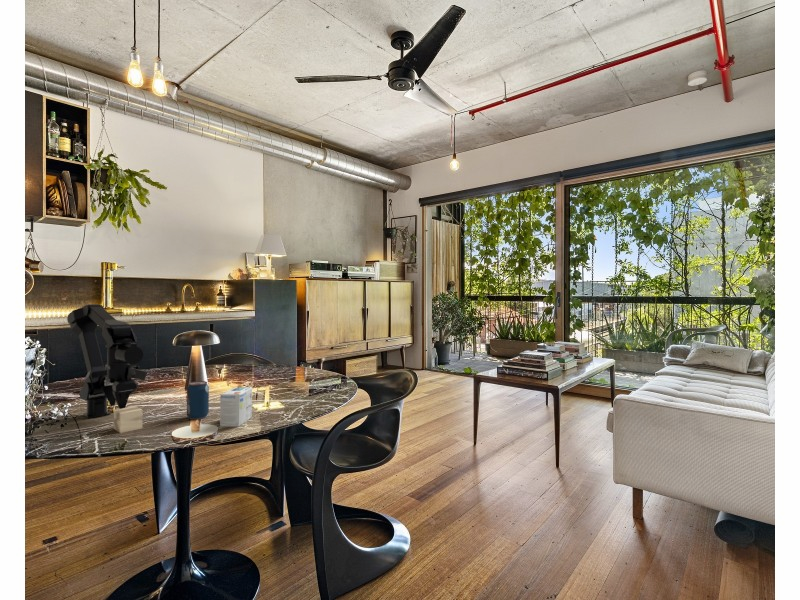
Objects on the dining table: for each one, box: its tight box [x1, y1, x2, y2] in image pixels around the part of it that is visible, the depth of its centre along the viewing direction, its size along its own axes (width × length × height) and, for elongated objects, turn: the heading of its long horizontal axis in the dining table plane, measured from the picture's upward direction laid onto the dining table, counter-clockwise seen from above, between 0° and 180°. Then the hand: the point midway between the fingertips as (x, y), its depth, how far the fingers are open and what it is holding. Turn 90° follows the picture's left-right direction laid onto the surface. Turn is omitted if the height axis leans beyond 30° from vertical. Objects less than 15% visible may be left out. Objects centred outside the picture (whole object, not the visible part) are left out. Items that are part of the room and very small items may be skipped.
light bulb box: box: [219, 386, 253, 428], centre depth 137 cm, size 11×7×11 cm, turn 178°
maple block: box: [113, 405, 143, 434], centre depth 129 cm, size 6×6×6 cm
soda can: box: [186, 380, 210, 420], centre depth 142 cm, size 7×7×12 cm
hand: (117, 408), depth 135 cm, fingers open, 9 cm apart
